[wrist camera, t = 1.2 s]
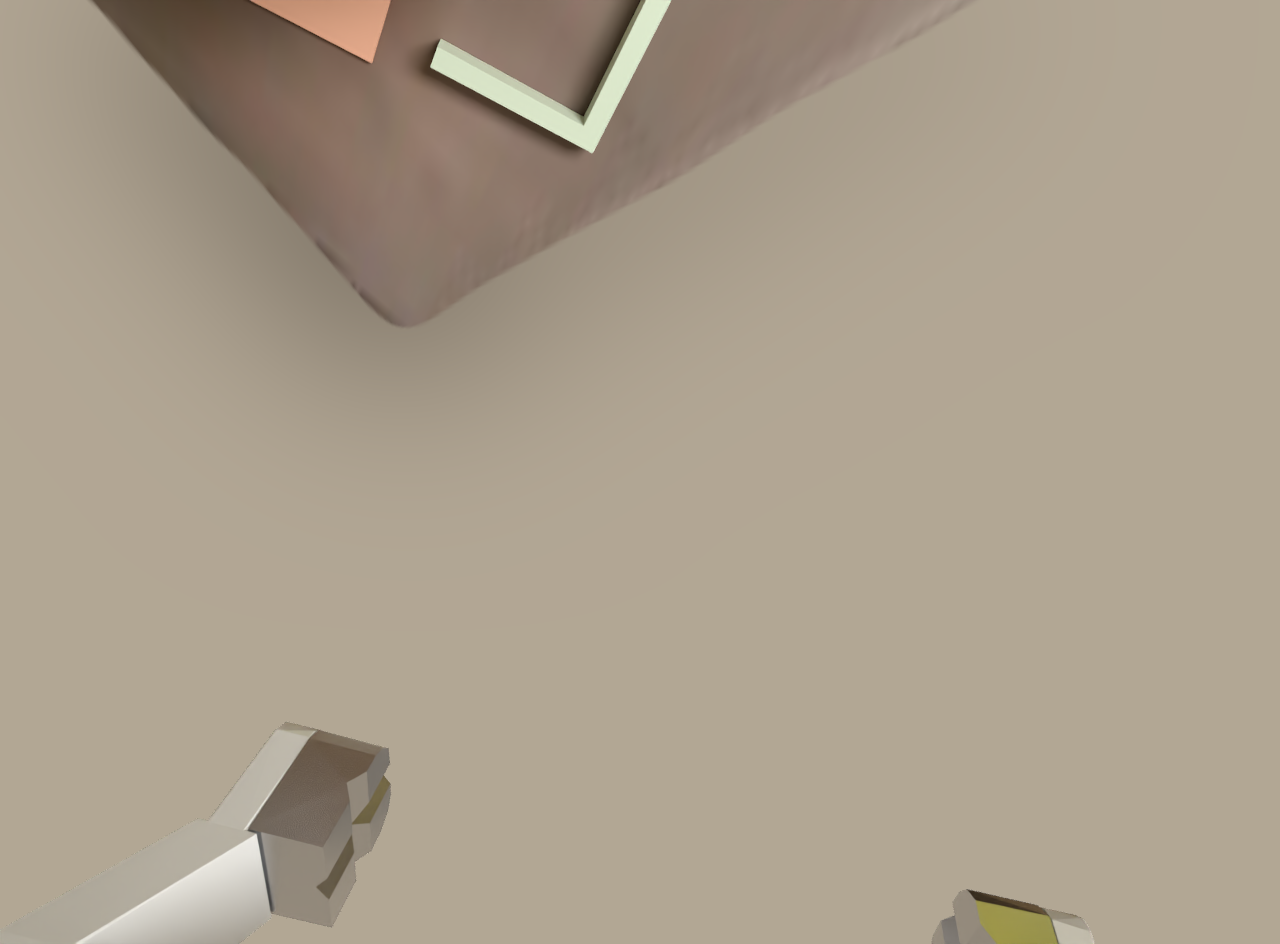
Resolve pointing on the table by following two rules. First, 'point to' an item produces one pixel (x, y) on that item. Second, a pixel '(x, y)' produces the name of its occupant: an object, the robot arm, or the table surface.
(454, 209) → the table surface
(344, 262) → the table surface
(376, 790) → the robot arm
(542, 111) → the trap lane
